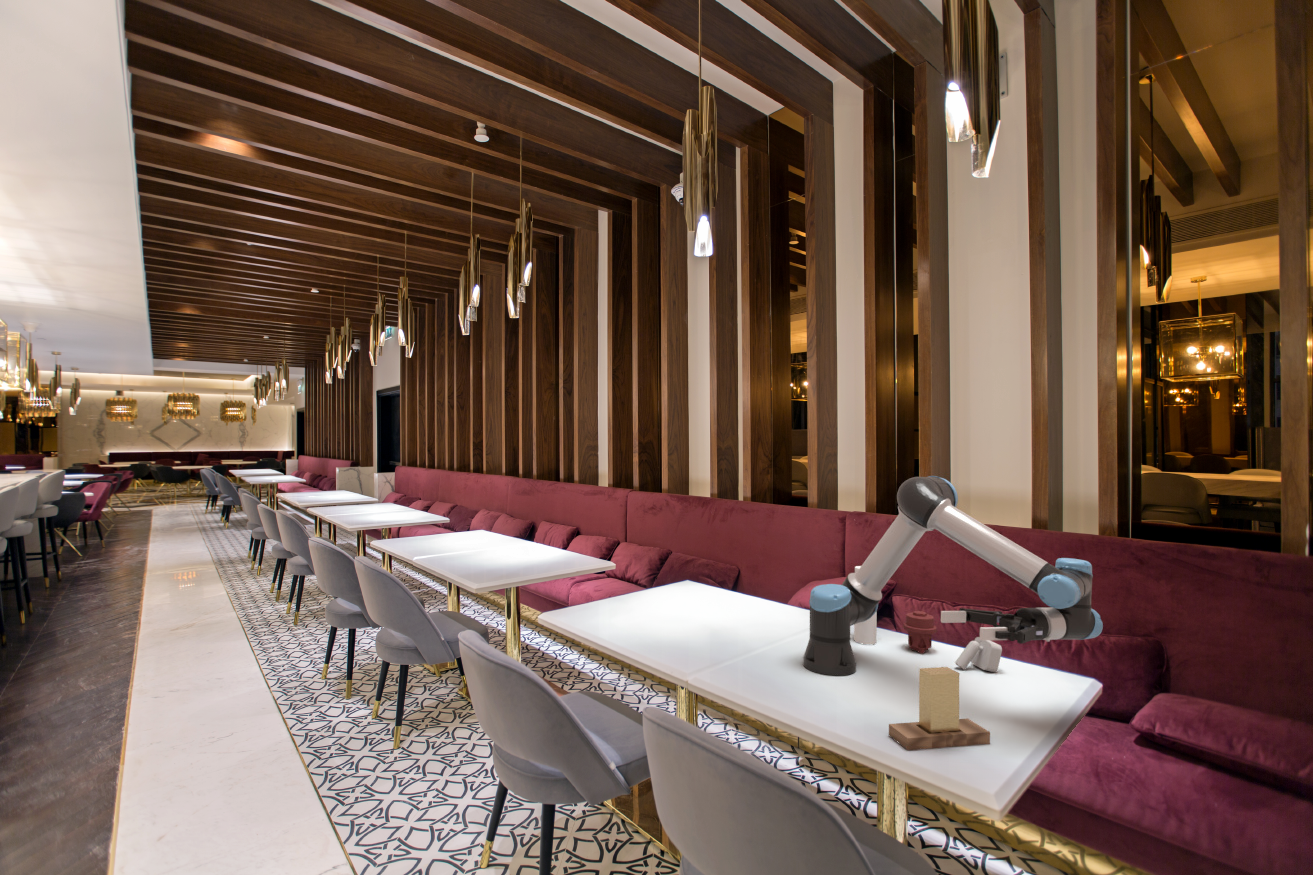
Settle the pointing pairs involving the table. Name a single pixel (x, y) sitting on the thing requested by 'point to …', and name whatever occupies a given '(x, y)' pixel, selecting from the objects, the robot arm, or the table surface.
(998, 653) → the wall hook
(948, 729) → the tall wooden block
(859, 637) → the cylindrical container
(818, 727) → the table surface
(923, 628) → the mechanical component
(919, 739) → the slotted wooden base
